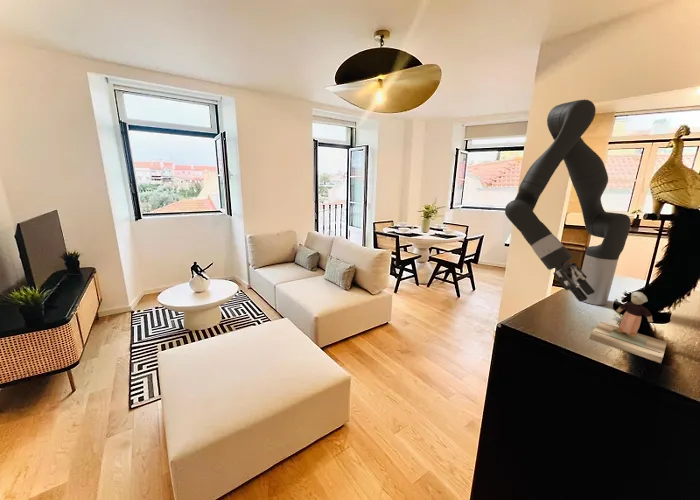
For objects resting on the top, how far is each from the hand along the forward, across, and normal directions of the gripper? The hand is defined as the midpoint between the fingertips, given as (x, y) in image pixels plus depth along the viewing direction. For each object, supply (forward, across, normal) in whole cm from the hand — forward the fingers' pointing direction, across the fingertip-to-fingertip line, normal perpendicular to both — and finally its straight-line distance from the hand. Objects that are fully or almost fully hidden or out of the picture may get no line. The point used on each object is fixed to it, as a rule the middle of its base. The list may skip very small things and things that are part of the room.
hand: (587, 296), depth 85 cm
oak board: (+14, -1, 0) cm, 14 cm away
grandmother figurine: (+13, +2, -1) cm, 13 cm away
